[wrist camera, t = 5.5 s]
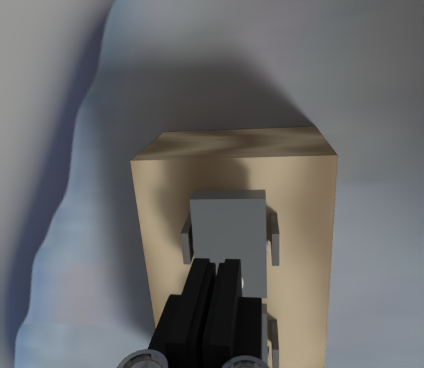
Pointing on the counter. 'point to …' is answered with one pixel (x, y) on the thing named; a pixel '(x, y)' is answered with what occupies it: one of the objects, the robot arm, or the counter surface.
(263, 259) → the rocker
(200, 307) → the robot arm
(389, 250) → the counter surface
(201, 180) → the switch unit
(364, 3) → the counter surface
